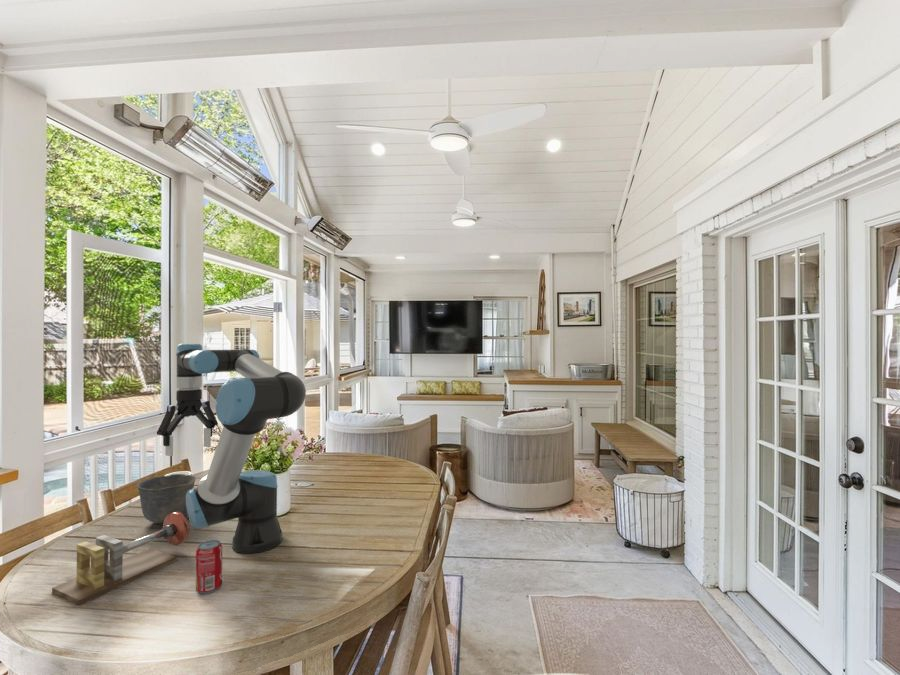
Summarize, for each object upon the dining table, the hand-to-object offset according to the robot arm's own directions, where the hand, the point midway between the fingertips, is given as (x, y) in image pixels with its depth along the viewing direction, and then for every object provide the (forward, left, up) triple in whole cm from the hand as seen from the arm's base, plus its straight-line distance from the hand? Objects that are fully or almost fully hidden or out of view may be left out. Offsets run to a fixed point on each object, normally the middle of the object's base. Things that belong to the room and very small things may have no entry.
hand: (188, 451), depth 153 cm
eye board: (-7, +26, -29) cm, 39 cm away
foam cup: (+28, -15, -29) cm, 43 cm away
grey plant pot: (+18, -4, -29) cm, 34 cm away
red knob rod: (-7, +17, -27) cm, 32 cm away
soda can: (-36, +19, -29) cm, 50 cm away
